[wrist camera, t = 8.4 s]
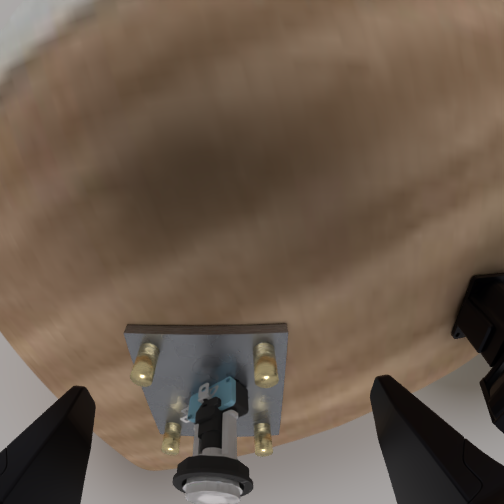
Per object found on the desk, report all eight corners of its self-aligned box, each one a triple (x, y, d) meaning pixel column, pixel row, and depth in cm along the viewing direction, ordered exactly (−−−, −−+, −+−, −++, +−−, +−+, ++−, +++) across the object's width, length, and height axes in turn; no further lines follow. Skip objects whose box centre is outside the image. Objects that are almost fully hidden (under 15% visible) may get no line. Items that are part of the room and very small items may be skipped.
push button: (204, 420, 27) (198, 515, 18) (161, 392, 25) (142, 495, 16) (261, 394, 25) (270, 500, 16) (219, 361, 23) (214, 480, 14)
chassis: (286, 323, 23) (293, 362, 20) (278, 427, 29) (281, 459, 26) (127, 324, 23) (112, 360, 19) (161, 426, 29) (156, 457, 25)
